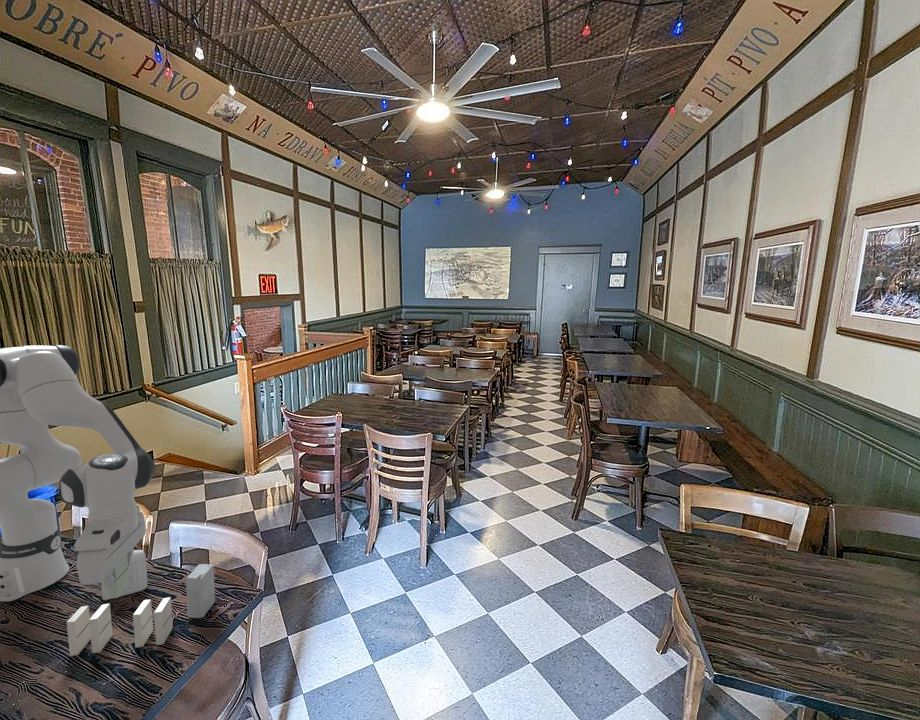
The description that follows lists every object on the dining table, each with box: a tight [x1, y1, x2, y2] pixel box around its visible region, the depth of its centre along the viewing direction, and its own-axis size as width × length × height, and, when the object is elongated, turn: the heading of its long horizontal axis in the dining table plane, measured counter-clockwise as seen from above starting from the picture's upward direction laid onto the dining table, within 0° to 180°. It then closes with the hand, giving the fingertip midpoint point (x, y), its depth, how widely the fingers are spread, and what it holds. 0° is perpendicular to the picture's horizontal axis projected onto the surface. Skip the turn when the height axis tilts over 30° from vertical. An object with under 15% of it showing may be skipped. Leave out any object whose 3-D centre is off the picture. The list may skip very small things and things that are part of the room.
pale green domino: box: [109, 555, 129, 600], centre depth 99 cm, size 2×5×9 cm, turn 13°
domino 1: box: [66, 605, 91, 657], centre depth 99 cm, size 2×5×9 cm, turn 13°
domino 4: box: [153, 596, 174, 646], centre depth 103 cm, size 2×5×9 cm, turn 13°
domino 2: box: [89, 603, 113, 654], centre depth 100 cm, size 2×5×9 cm, turn 13°
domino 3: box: [132, 599, 154, 649], centre depth 102 cm, size 2×5×9 cm, turn 13°
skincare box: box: [185, 563, 216, 619], centre depth 111 cm, size 6×4×12 cm
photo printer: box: [100, 549, 148, 601], centre depth 117 cm, size 10×4×12 cm, turn 123°
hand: (118, 575), depth 99 cm, fingers closed on pale green domino, 5 cm apart
